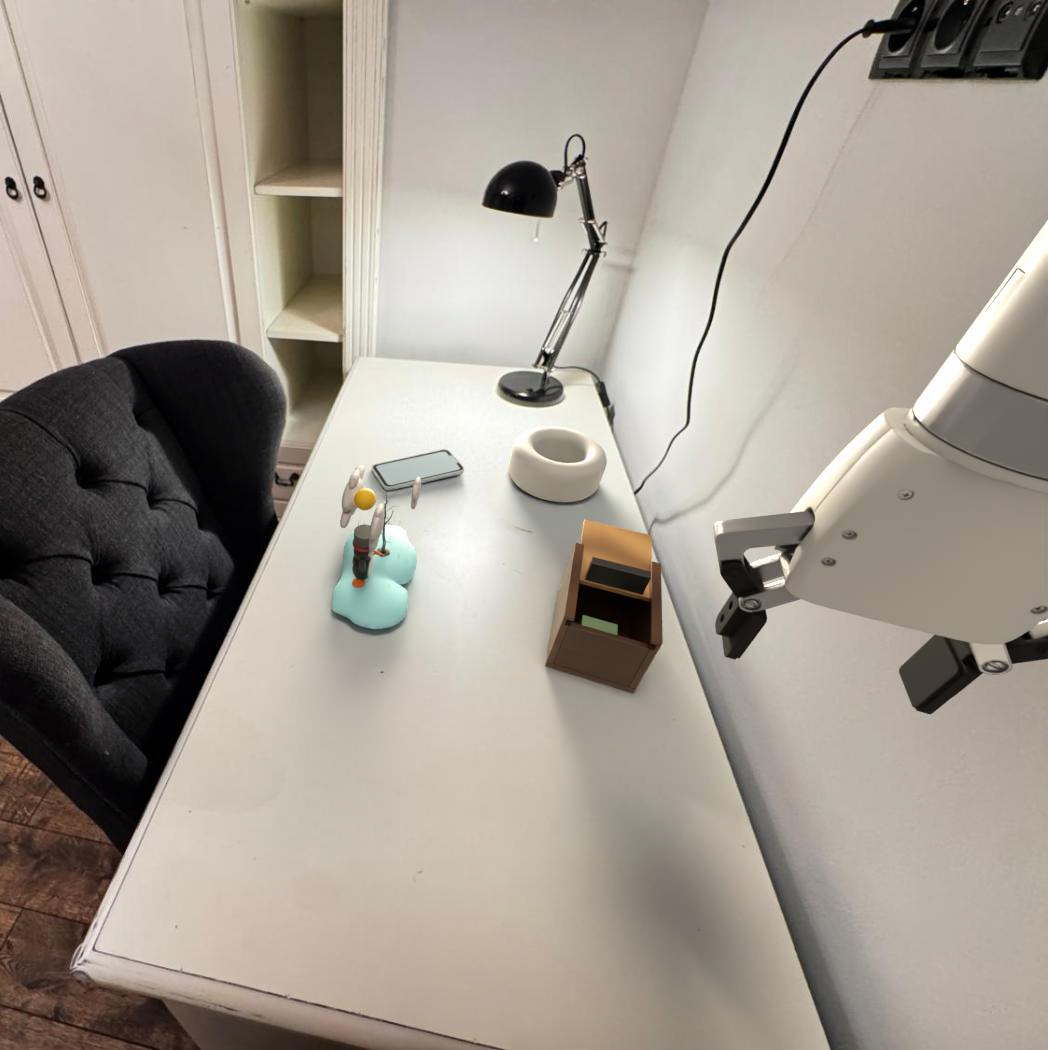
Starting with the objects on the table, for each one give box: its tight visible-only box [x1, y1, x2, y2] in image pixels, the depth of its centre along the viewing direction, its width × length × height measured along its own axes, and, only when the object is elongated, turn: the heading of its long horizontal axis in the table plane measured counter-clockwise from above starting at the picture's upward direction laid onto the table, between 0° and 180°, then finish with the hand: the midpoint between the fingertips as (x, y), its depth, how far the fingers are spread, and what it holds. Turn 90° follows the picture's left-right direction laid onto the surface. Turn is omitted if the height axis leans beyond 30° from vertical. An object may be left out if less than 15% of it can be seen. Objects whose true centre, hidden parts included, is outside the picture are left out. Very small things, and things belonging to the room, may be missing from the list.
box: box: [544, 541, 664, 694], centre depth 69 cm, size 13×10×9 cm
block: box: [579, 615, 618, 635], centre depth 68 cm, size 4×4×4 cm
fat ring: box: [508, 425, 608, 503], centre depth 96 cm, size 15×15×7 cm
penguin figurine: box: [330, 463, 422, 630], centre depth 75 cm, size 20×11×15 cm, turn 167°
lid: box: [579, 519, 653, 602], centre depth 70 cm, size 12×8×3 cm
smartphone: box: [371, 448, 465, 491], centre depth 99 cm, size 7×1×15 cm
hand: (816, 666), depth 35 cm, fingers open, 9 cm apart
